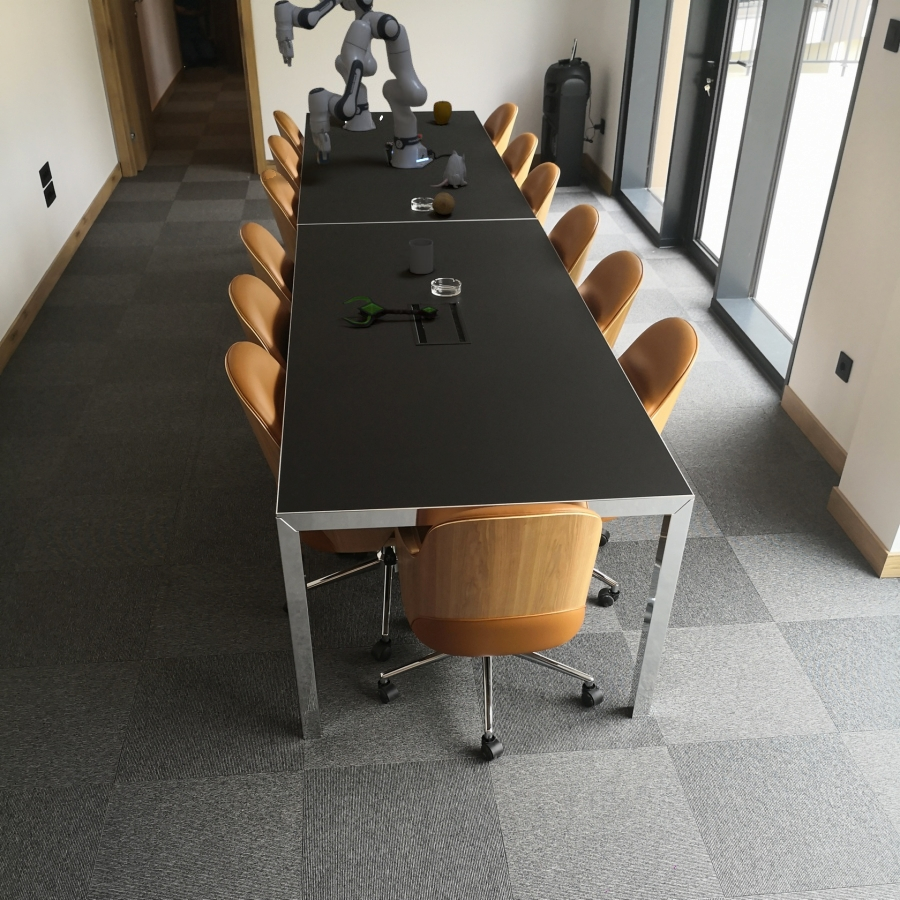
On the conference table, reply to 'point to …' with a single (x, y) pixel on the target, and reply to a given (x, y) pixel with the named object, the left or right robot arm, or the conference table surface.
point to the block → (319, 158)
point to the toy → (454, 171)
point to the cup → (421, 256)
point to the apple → (442, 112)
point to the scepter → (384, 311)
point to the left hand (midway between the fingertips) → (287, 65)
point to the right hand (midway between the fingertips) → (323, 157)
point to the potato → (443, 203)
